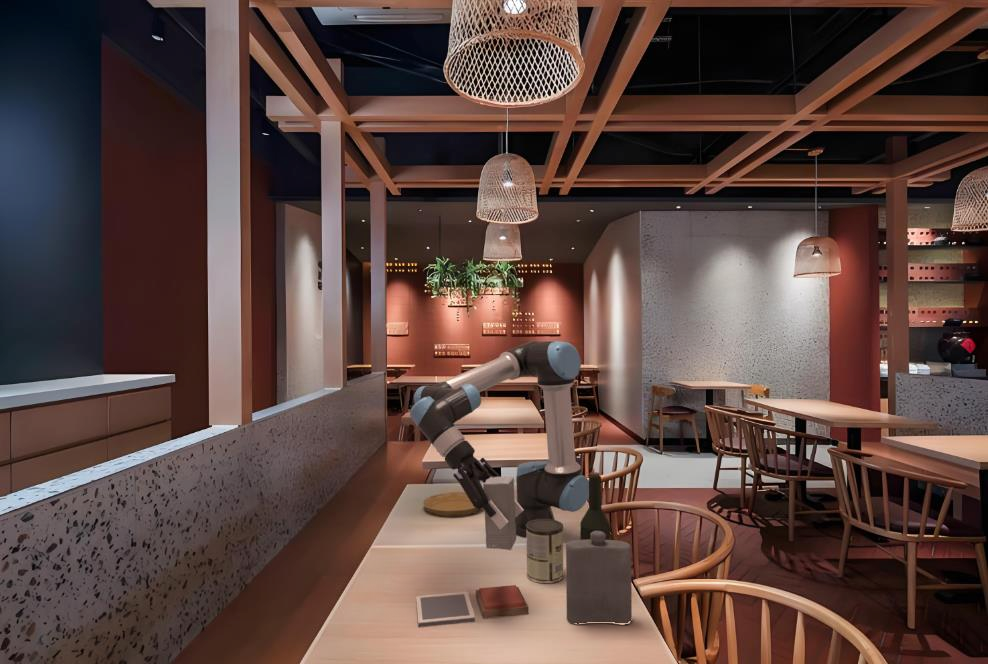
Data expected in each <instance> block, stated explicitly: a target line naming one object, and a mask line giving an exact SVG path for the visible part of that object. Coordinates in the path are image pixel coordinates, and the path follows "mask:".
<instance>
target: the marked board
mask: <svg viewBox="0 0 988 664" xmlns="http://www.w3.org/2000/svg"><path fill="white" fill-rule="evenodd" d="M415 600H416V601H415V602H416V613H417V614H416V615H417V625H418V628H420V627H421V626H423V627H430V626H431V627H432V626H441V625H452V624H461V623H470V622H471V623H472V622H475V621H476V618H475V612H474V609H473V605H472V603H471V598H470V595H469V592H468V591H460V592H459V591H457V592H450V593H449V592H448V593H436V594H426V595H416V596H415ZM421 628H422V627H421Z"/></svg>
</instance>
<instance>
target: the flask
mask: <svg viewBox="0 0 988 664" xmlns="http://www.w3.org/2000/svg"><path fill="white" fill-rule="evenodd" d="M565 557H566V558H565V559H566V560H565V561H566V562H565V563H566V564H565V565H566V566H565V568H566V569H565V573H566V575H565V579H566V580H565V581H566V589H565V590H566V620H567V621H568V622H569V621H570V622H572V623H577V624H579V623H587V622H615V623H628V622H629V621H631V619H632V620H633V618H632V617H633V616H632V613H633V612H632V610H633V609H632V605H633V604H632V545H630V544H629V542H626V541H623V540H617V539H615V540H614V539H611V540H606V534H605V533H604V532H602V531H593V532H591V533H590V540H581V539H576V540H570V541H568V542H567V543H566V544H565ZM570 622H569V623H570ZM572 623H571V624H572Z"/></svg>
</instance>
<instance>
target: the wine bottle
mask: <svg viewBox="0 0 988 664" xmlns="http://www.w3.org/2000/svg"><path fill="white" fill-rule="evenodd" d="M589 474H590V475H589V476H588V480H589V497H588V509H587V510H586V512H585V514H584V516H583V517H582V519H581V520H580V524H579V525H580V527H579V528H580V530H579V531H580V535H579V536H580V540H590V533H591V532H593V531H602V532H604V533H605V534H606V540H612V537H611V534H612V533H611V532H612V531H611V530H612V529H611V522H610V521H609V519H608V517H607V515H606V513H605V512H604V510H603V509H602V476H601V475H600V472H597V471H595V472H590V473H589Z"/></svg>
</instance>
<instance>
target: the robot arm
mask: <svg viewBox="0 0 988 664" xmlns="http://www.w3.org/2000/svg"><path fill="white" fill-rule="evenodd" d="M581 367H582V363H581V357H580V354H579V352H578V350H577V348H576V347H575V346H574V345H573V344H571V343H569V342H566V341H560V340H553V341H552V340H550V341H535V340H534V341H529V342H526V343H522V344H520V345H517V346H516V347H513V348H510V349H508V350H506V351H504V352H501V353H500V355H499V357H497V358H495V359H493V360H490V361H488V362H486V363H484V364H481V365H478V366H477V367H474V368H472V369H469V370H467V371H465V372H463V373H460V374H457V375H455V376H453V377H451V378H448V379H445V380H444V381H442V382H438V383H436V384H433V385H421V386H420V387H418V388H417V389H416V391H415V392H414V394H413V403H414V405H412V407H411V409H410V410H409V417H410V418H411V420H412V421H413V423H414V424H415V425H416V428H418V429H419V430H420V431H421V432H422V433H423V435H424V436H425V437H426V439H427V441H429V442H430V444H431V445H432V446H433V447H434V448H435V450H436V452H437V453H438V454H439V455H440V456H441V457H442V458H444V462H446V465H448V467H449V468H450V469H451V470H453V471H454V470H456V471H455V472H454V473H453V478H454V479H455V480H456V481H457V482H458V484H459V485H460V487H462V489H463V491H464V492H465V493H466V494H467V496H468V498H469V499H470V501H471V503H472V504H473V506H474V507H475V508H477V509H478V511H480V510H481V509H482V510H483V511H484V513H485V512H486V513H487V514H488V515H489V517H490V518H491V519H492V520H493V522H494V523H495V524H496V525H497V527H498V528H499V529H502V528H503V527H504V526H505V525H506V524H507V523H508V522H509V521H508V520H507V519H506V518H505V517H504V515H503V514H502V513H501V512H500V510H499V509H498V508H497V507H496V505H495V504H494V503H493V502H492V501H491V500H490V501H489V502H488V498H487V496H486V494H485V493H484V486H483V485H482V483H483V484H484V483H485V482H486V480H487V479H489V478H490V477H502V476H501V475H500V473H498V472H497V471H496V470H495V469H494V468H493V467H492V466H491V465H490V464H489V462H487V460H486V459H485V458H484V457H481V458H480V459H477V458H476V457H475V456H474V454H475V451H476V450H475V448H474V447H473V446H472V445H471V444H470V442H469V441H468V440H465V436H464V435H463V434H462V432H461V431H460V430H459V428H458V427H456V425H455V423H456V422H458V421H461V419H463V418H464V417H466V416H468V415H469V414H472V413H473V412H474V411H476V409H478V408H479V407H480V406H481V404H482V397H481V394H480V393H481V392H483V391H485V390H488V389H489V388H491V387H494V386H496V385H498V384H501V383H503V382H504V381H507V380H511V381H514V380H517V379H519V378H522V377H523V378H524V377H533V378H534V377H535V378H536V379H537V386H538V387H540V389H542V393H543V394H542V395H543V403H544V404H543V405H544V416H545V430H546V431H545V433H546V444H547V445H546V446H547V455H548V456H547V457H548V461H546V460H544V461H543V460H540V461H539V460H537V461H535V460H534V461H529V462H523V463H520V464H519V465H517V467H516V476H515V478H516V481H515V482H516V499H515V521H516V536H519V537H523V538H526V523H527V522H529V521H531V520H535V519H552V520H556V519H555V516H554V514H553V513H554V512H553V509H552V507H553V508H557V509H559V510H561V511H566V512H567V511H568V512H571V513H574V512H578V511H580V510H581V509H582V508H583V507H584V506H585V504H586V502H587V501H588V500H589V478H587V477H586V476H585V475H583V474H582V466H581V465H580V463H578V462H577V461H576V450H575V438H574V424H573V423H574V422H573V411H572V397H571V387H572V386H574V384H575V378H576V377H578V375H579V373H580V370H581ZM481 482H482V483H481ZM475 500H476V501H475Z"/></svg>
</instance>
